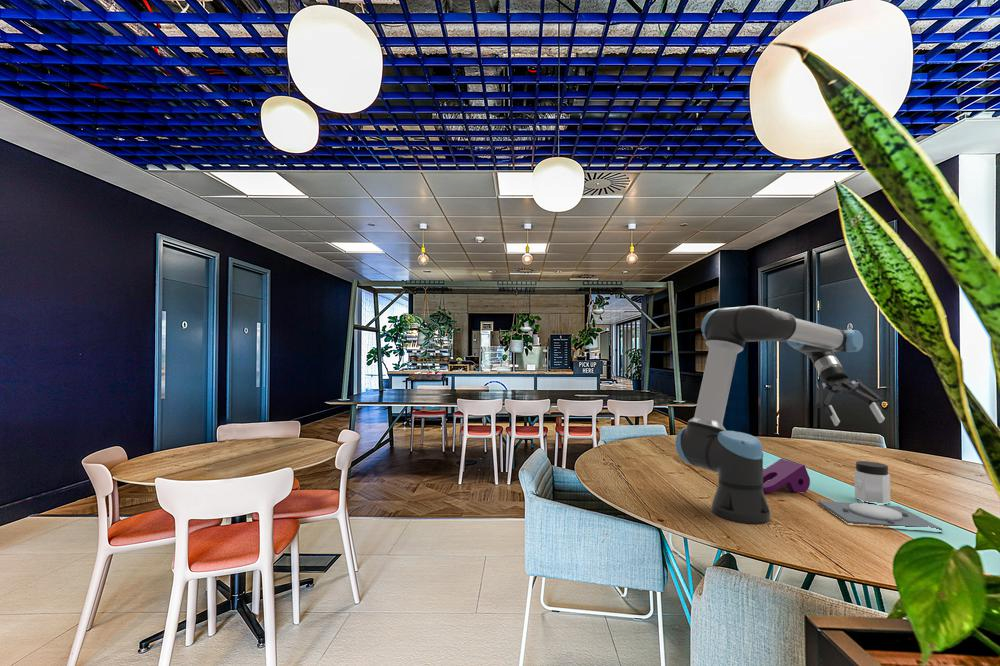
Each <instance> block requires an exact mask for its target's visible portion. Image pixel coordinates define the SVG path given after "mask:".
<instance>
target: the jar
mask: <svg viewBox="0 0 1000 666" xmlns="http://www.w3.org/2000/svg"><path fill="white" fill-rule="evenodd" d="M855 497H856V498H859V499H861V500H863V501H868V502H877V503H887V502H890V503H891V474H890V473H889V466H888V464H887V465H886V464H883V463H882V462H881V463H880V462H877V461H876V462H875V461H868V460H866V461H865V460H859V461H858V460H857V461H855V469H854V498H855Z"/></svg>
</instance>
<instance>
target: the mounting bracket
mask: <svg viewBox="0 0 1000 666" xmlns="http://www.w3.org/2000/svg"><path fill="white" fill-rule="evenodd" d="M810 484H811V478H810V475H809V473H808V470H807V468H806V465H805V464H803V463H799V462H795V461H792V460H788V459H784V458H779V460H776V461H775V462H773V463H772V464H771V465H769V466H768V467H766V468H765V469H764V468H763V492H764V494H768V493H773V492H775V491H777V490H779V489H780V488H783V487H782V486H787V487H786V488H787V489H788V490H789V491H791V492H793V491H794V492H793V493H796V492H805V493H806V492H807V491H808V490H809V488H810V486H811V485H810Z"/></svg>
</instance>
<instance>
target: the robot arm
mask: <svg viewBox="0 0 1000 666" xmlns="http://www.w3.org/2000/svg"><path fill="white" fill-rule="evenodd" d="M700 328H701V332H702V333H701V334H702V336H703V338H704V340H705V345H706V346H707V348H708V353H707V358H706V362H705V366H704V371H703V377H702V381H701V384H700V389H699V394H698V396H697V397H698V398H697V402H696V408H695V412H694V416H693V417H692V418H690V419H689V420H687V426H686V427H682V428H681V429H680V430H679V431H678V432H677V434H676V438H675V450H676V452H677V454H678V457H680V459H681V460H682V461H683V462H685V463H686V464H689V465H691V466H693V467H696V468H701V469H704V470H708V471H712V472H716V473H717V475H718V477H717V478H718V485H717V488H716V491H715V494H714V496H713V499H712V503H711V504H712V505H711V507H712V508H711V511H712V513H714V515H716V516H718V517H721V518H722V519H726V520H729V521H733V522H737V523H744V524H765V523H768V522H770V521H771V510H770V508H769V507H770V506H769V504H768V501H767V499H766V496H765V493H764V492H763V470H764V467H763V466H764V464H763V463H764V462H763V461H764V452H763V443H762V441H761V440H760V439H759V438H758V437H756V436H754V435H752V434H749V433H746V432H743V431H742V432H741V431H735V430H727V429H726V428H725V426H724V425H723V424H724V418H725V414H726V409H727V408H726V407H727V405H728V399H729V394H730V390H731V385H732V381H733V380H732V379H733V375H734V372H735V366H736V362H737V357H738V356H737V355H738V354H739V353H741V352H743V351H744V348H745V344H746V342H747V343H751V342H754V343H755V342H766V341H769V342H770V341H772V342H773V341H774V342H780V343H781V342H782V343H783V342H786V343H787V345H789V346H790V347H792V349H793V350H796V351H798V352H800V353H802V354H804V355H805V356H807V357H809V359H810V360H811V362H812V364H813V366H814V368H815V369H816V371H817V372H818V374H819V376H820V379H821V380H822V382H821V381H818V382H817V383H816V385H815V388H816V390H817V391H816V392H817V393H816V398H815V399H816V400H815V408H817V409H819V408H821V410H822V411H824V412H825V414H826V416H827V417H830V420H831V421H832V423H833V426H834V427H837V426H839V424H840V423H841V420H840V419H839V417H838V415H837V413H836V411H835V409H834V407H833V406H832V404H830V402H831V400H832V399H833V397H834V395H835V394H836V395H842V394H843V395H847V394H848V395H851V396H854V397H856V398H858V399H859V400H861V401H863V402H865V403H867V404H869V409H870V410H871V412H872V414H873V415H874V417H875V419H876V420H877V422H878V423H879V424H882V423H884V421H885V419H886V418H885V416H884V414H883V413H882V412H883V409H882V407H881V405H880V403H881V401H883V397H881V396H880V395H879V394H877V393H876V392H875V391H874V390H872V389H870V387H868V386H867V385H865V384H864V383H863V382H862V380H861V379H860V378H856V379H855V380H850V379H849V376H848V374H847V372H846V371H845V369H844V368H843V366H842V363H841V362H840V360H839V359H838V358H837V356H836V354H835V352H836V353H854V352H855V353H857V352H859V351H861V350H862V349H863V344H864V337H863V334H862V333H861V332H860V330H857V329H838V328H834V327H831V326H828V325H827V326H826V325H822V324H820V323H816V322H812V321H808V320H803V319H801V318H797V317H795V316H794V315H793V314H791V313H789V312H786V311H784V310H779V309H775V308H772V307H771V308H770V307H768V306H762V305H761V306H760V305H745V306H744V305H743V306H735V307H734V306H733V307H721V308H716V309H713V310H711V311H709V312H707V313H706V315H705V316H704V318H703V319H702V322H701V327H700ZM825 388H826V389H827V390H829V393H828V394H827V396H826V399H825V400H824V402H823V396H824V390H825Z"/></svg>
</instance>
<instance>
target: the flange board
mask: <svg viewBox="0 0 1000 666" xmlns="http://www.w3.org/2000/svg"><path fill="white" fill-rule="evenodd" d="M818 503H819V504H820V505H821V506H823V507H824V508H826V509H827V510H829V511H831V512H832V513H834V514H835V515H837V516H838V517H840V518H841V519H843V520H844V521H846V522H847V523H853V524H869V525H883V526H905V527H928V526H929V527H931V528H936V529H939V530H942V531H943V528H942V527H940V526H938V525H936V524H934V523H932V522H930V521H929V520H927V519H925V518H922V517H921V516H920V515H916V514H915V513H913V512H910V511H908V510H907V509H905V508H903V507H901V506H899V505H898V506H897V505H888V504H887V505H875V504H868V503H864V502H862V501H860V500H857V502H844V501H843V502H842V501H830V500H829V501H828V500H817V504H818ZM820 505H819V506H820ZM821 506H820V507H821ZM823 507H822V508H823ZM824 508H823V509H824ZM826 509H825V510H826ZM827 510H826V511H827Z"/></svg>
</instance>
